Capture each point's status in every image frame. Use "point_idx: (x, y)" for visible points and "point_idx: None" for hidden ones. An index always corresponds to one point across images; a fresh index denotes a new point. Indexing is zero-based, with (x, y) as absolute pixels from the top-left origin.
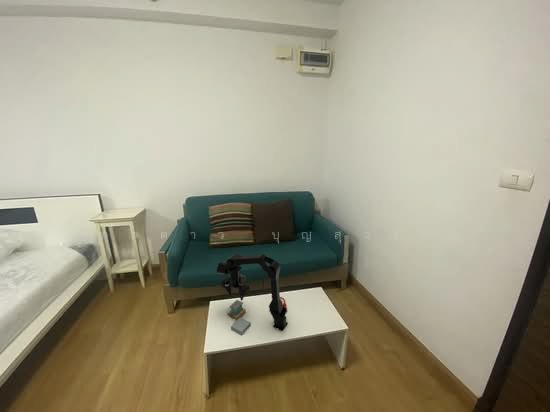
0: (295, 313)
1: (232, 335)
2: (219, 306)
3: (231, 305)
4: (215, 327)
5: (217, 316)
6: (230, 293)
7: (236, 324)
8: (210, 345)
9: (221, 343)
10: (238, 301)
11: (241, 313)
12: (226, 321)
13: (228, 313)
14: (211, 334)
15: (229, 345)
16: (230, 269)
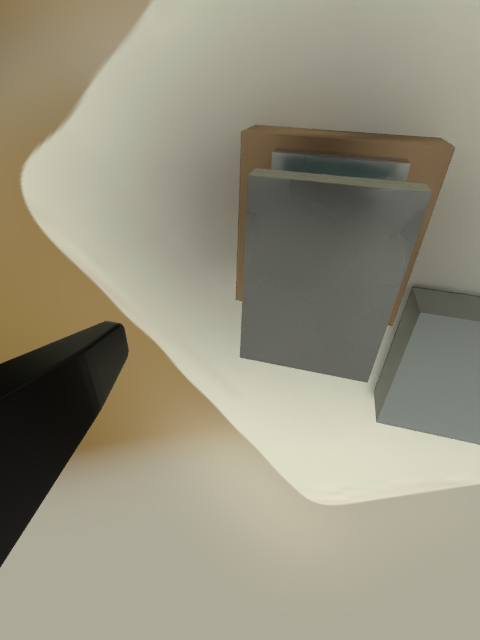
0: None
1: None
2: (69, 191)
3: (257, 335)
4: (238, 397)
5: (165, 309)
6: (89, 377)
7: (426, 399)
8: (307, 491)
9: (366, 479)
10: (313, 208)
11: (414, 251)
12: None
13: None
14: (257, 441)
15: (432, 486)
16: None
